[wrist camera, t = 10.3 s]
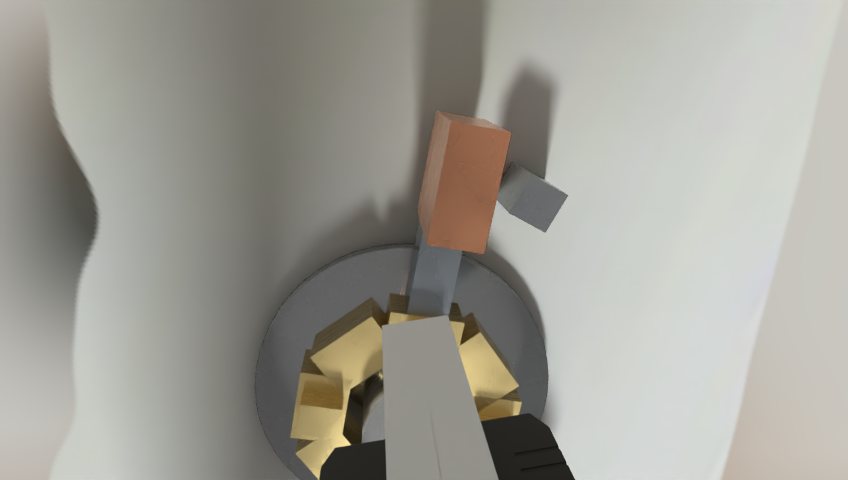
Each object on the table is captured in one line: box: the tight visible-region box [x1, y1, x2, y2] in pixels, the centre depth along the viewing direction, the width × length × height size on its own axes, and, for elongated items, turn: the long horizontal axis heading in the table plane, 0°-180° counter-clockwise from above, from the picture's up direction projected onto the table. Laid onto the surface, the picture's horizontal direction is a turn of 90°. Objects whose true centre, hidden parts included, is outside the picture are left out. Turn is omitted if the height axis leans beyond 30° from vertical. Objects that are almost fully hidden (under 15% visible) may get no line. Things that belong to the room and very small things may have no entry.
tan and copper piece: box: [290, 111, 522, 479], centre depth 29 cm, size 20×11×6 cm, turn 169°
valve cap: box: [255, 244, 548, 480], centre depth 32 cm, size 16×16×6 cm
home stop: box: [497, 162, 568, 232], centre depth 30 cm, size 2×2×4 cm
